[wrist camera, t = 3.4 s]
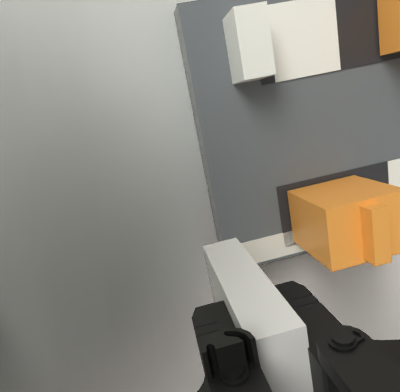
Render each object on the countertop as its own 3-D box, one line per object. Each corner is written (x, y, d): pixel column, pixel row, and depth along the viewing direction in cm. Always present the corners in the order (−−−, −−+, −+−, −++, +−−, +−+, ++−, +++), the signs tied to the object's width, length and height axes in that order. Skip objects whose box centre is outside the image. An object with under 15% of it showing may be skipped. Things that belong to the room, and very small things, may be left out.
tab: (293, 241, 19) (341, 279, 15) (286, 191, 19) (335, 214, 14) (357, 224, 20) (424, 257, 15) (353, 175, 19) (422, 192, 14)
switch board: (222, 262, 21) (238, 290, 17) (173, 13, 17) (182, -13, 14) (453, 202, 23) (507, 217, 19) (451, -33, 19) (518, -65, 16)
